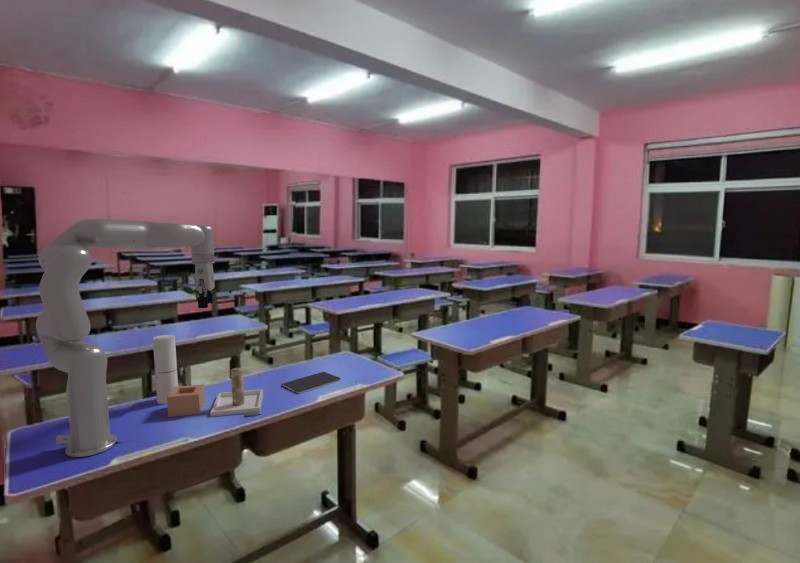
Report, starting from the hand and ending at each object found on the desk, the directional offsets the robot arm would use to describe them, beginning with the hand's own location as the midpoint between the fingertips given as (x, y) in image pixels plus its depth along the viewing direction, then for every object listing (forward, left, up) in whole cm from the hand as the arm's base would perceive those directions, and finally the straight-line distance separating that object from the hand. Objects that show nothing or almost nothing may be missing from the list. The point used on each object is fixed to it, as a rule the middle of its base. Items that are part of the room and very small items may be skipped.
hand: (205, 305), depth 161 cm
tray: (+11, -9, -36) cm, 39 cm away
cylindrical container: (-15, +1, -36) cm, 39 cm away
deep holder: (-6, -10, -36) cm, 38 cm away
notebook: (+38, +9, -37) cm, 54 cm away
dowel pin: (+11, -9, -35) cm, 38 cm away
